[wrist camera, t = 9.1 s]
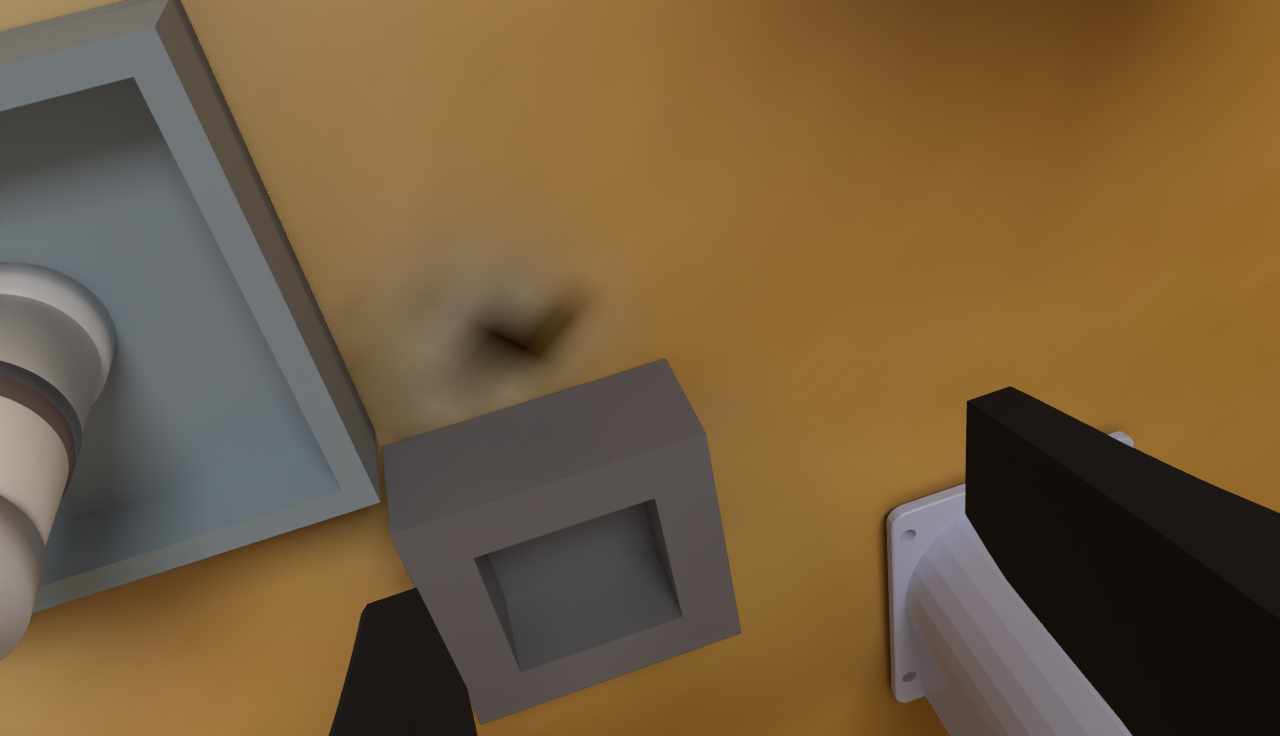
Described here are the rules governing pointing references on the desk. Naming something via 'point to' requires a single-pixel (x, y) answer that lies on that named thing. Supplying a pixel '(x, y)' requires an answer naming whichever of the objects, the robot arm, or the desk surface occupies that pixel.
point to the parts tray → (171, 304)
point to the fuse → (41, 418)
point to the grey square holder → (565, 538)
